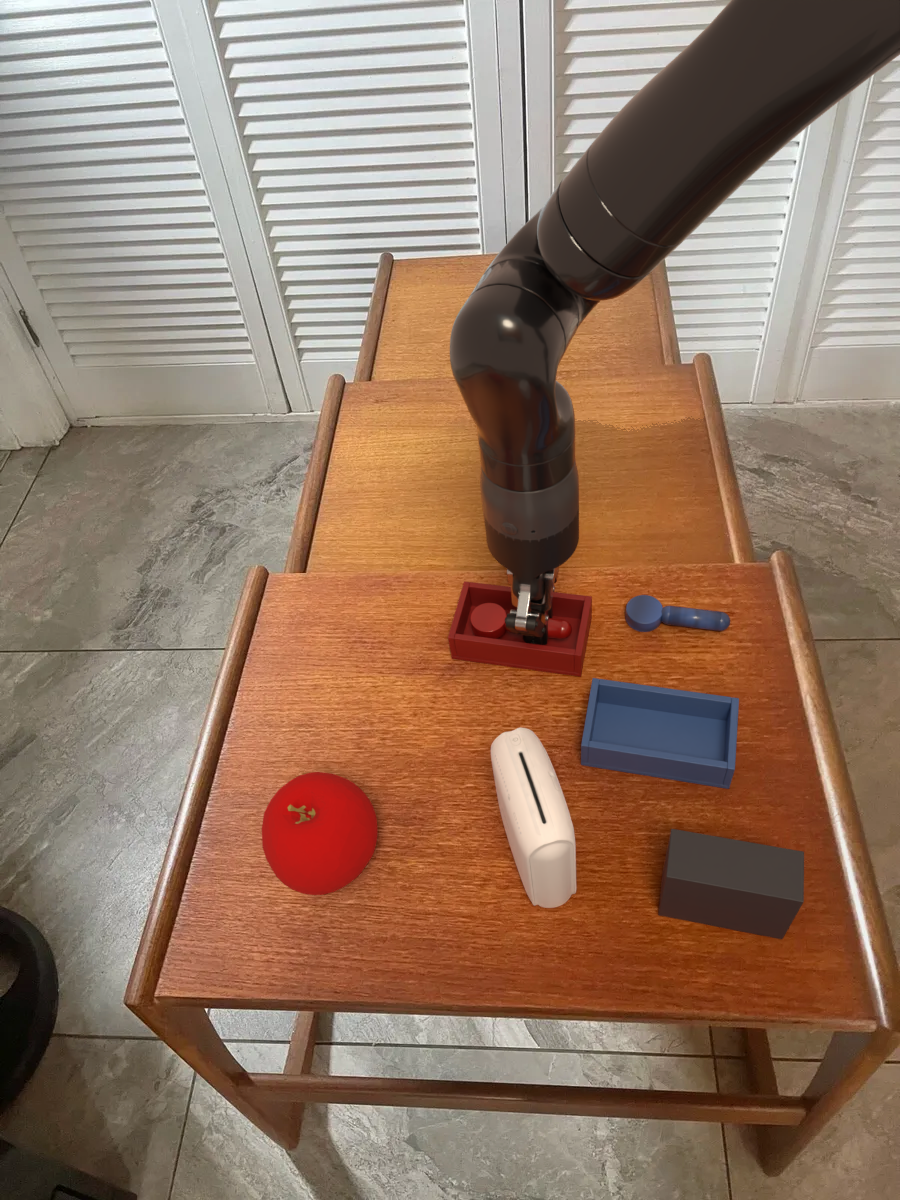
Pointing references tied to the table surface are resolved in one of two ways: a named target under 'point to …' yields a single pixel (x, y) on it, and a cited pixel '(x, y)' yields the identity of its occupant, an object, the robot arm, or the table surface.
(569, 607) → the red bin
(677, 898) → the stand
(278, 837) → the fruit
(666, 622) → the blue spoon
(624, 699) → the blue bin
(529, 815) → the photo printer
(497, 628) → the red spoon
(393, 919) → the table surface
